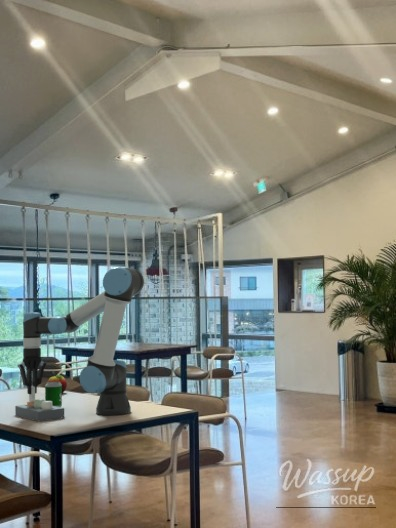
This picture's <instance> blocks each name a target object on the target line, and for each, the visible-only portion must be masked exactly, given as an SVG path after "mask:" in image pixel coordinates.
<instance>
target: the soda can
mask: <svg viewBox="0 0 396 528" xmlns="http://www.w3.org/2000/svg"><path fill="white" fill-rule="evenodd" d="M47 382H48V381H47ZM47 382H46V384H45V385H44V390H45V392H44V400H45V401H52V406H56V407H61V408H62V405H63V403H62V402H63V399H62V397H63V393H62V384H61V383H60V382H48V383H47Z"/></svg>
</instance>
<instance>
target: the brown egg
mask: <svg viewBox="0 0 396 528" xmlns="http://www.w3.org/2000/svg"><path fill="white" fill-rule="evenodd" d="M26 405H27V406H29V407H30V406H34V402H30V401H27V402H26Z"/></svg>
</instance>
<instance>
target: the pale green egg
mask: <svg viewBox="0 0 396 528" xmlns="http://www.w3.org/2000/svg"><path fill="white" fill-rule="evenodd" d="M43 401H45V398H43V399H41V398H39V399H35V400H34V408H42V402H43Z"/></svg>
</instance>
